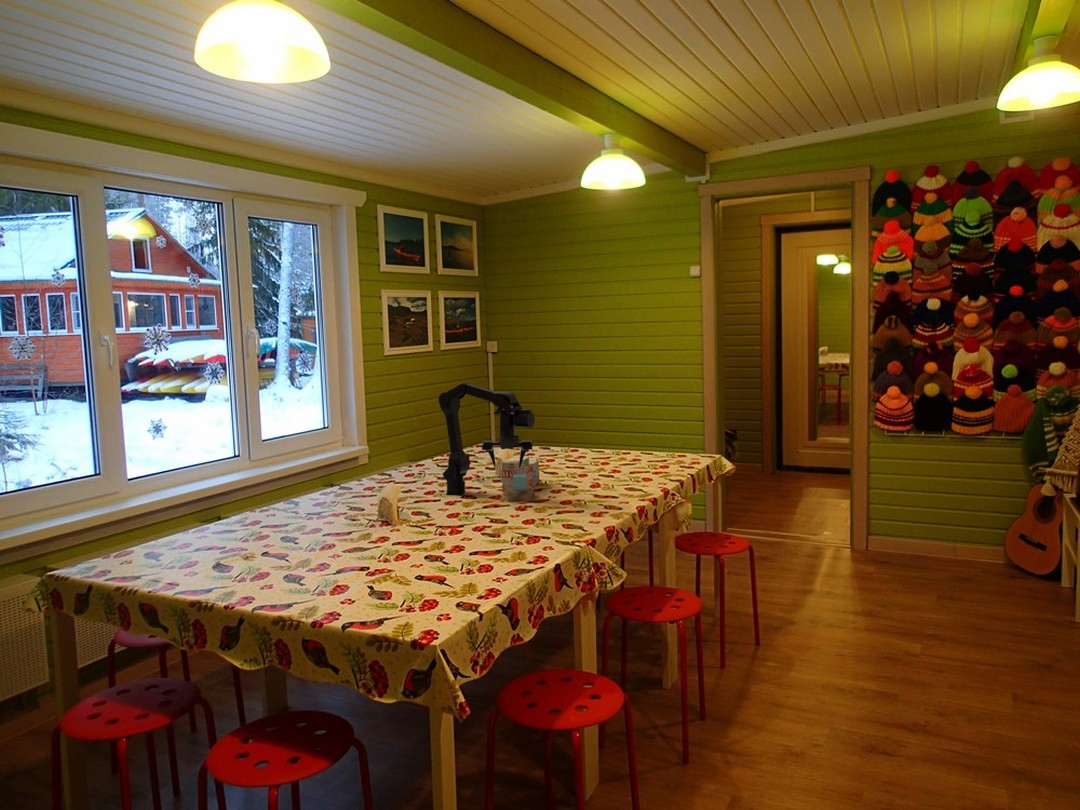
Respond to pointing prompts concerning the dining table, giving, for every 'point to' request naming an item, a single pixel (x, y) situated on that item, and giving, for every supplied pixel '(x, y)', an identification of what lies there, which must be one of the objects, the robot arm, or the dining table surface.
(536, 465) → the stack of blocks
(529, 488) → the walnut block
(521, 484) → the teal cube
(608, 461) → the dining table surface
